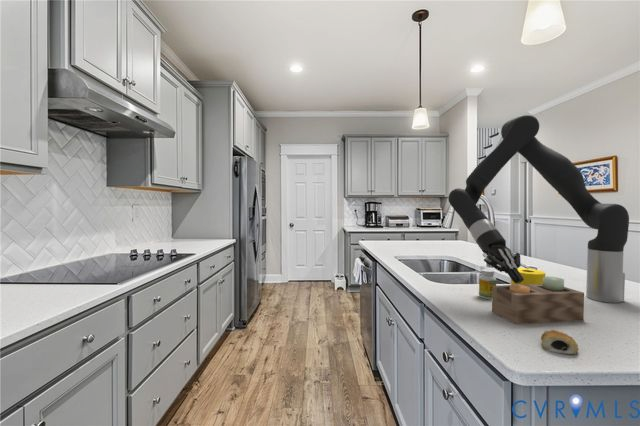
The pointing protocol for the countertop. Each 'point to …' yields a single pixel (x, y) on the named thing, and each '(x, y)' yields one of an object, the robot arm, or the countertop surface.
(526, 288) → the orange button
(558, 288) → the sage button
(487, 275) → the supplement bottle
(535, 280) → the tape roll
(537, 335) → the countertop surface
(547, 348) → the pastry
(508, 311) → the wooden compartment box
